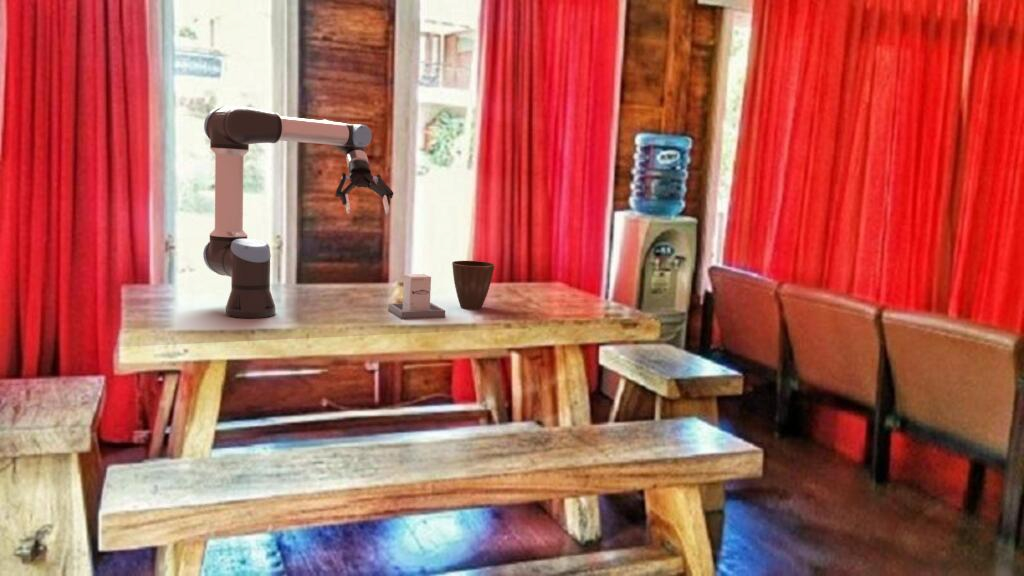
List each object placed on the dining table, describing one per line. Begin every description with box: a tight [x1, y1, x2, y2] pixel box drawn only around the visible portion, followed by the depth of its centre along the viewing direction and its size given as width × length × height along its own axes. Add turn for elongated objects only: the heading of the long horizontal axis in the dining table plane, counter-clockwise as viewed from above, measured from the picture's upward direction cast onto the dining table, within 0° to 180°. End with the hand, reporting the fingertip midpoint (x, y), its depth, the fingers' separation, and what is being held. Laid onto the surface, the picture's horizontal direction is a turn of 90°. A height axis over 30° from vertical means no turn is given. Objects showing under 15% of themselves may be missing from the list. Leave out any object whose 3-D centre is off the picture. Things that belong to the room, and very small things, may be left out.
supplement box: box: [402, 273, 432, 311], centre depth 269 cm, size 7×7×13 cm
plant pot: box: [451, 260, 495, 310], centre depth 285 cm, size 15×15×16 cm
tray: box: [387, 301, 446, 320], centre depth 270 cm, size 15×15×2 cm
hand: (368, 211), depth 277 cm, fingers open, 13 cm apart
